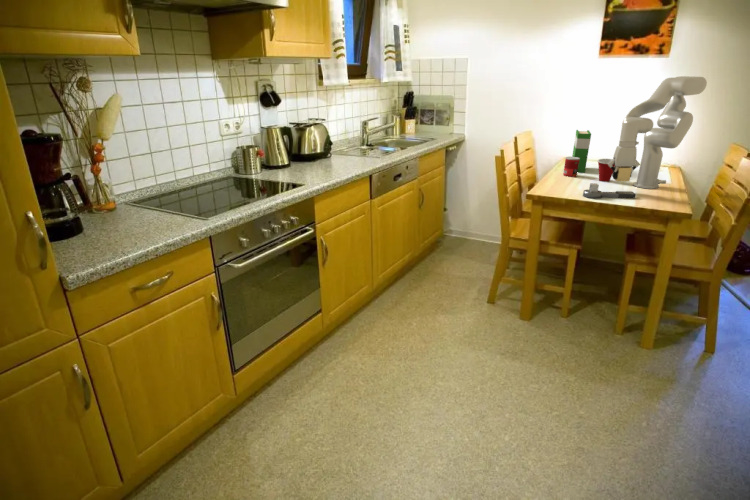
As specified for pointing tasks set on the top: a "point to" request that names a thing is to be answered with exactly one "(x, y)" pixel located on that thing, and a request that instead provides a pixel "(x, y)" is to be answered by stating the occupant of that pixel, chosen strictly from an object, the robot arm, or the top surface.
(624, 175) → the tan wooden block
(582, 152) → the hardback book
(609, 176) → the plastic cup
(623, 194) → the ratchet
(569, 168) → the canned food
